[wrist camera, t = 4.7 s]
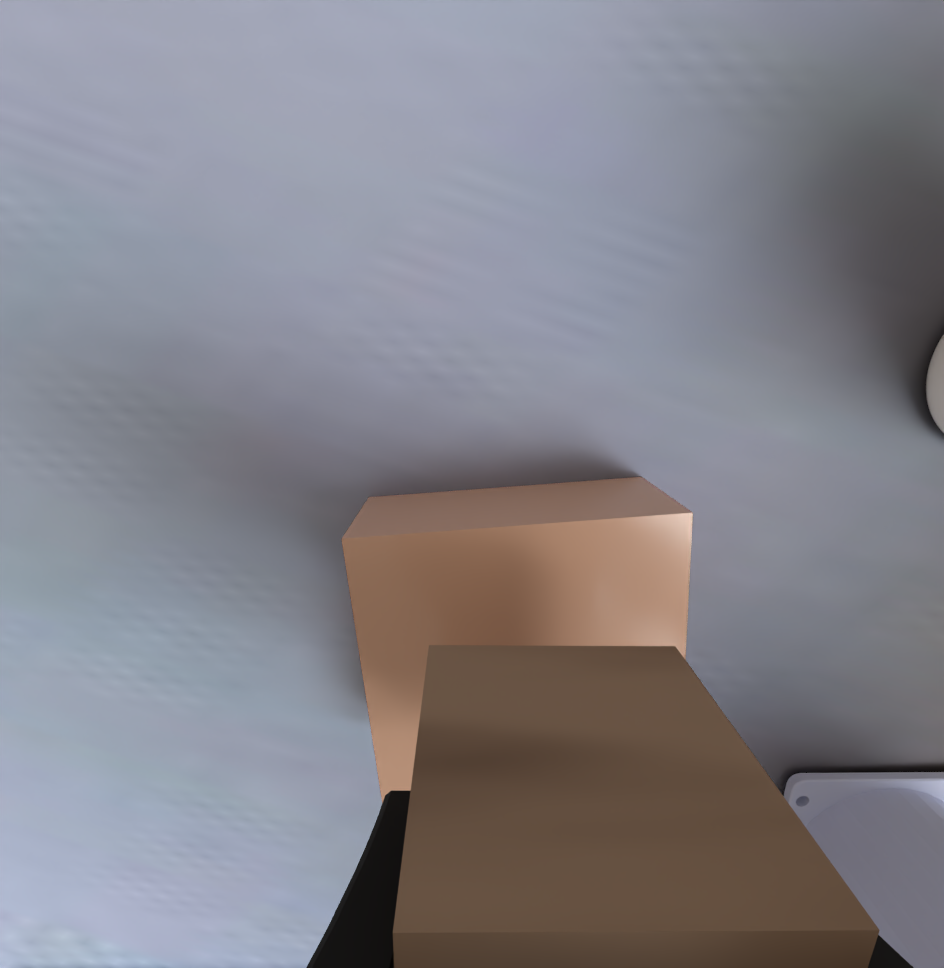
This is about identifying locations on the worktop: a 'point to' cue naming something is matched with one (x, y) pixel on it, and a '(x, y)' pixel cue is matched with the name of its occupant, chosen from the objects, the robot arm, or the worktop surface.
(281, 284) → the worktop surface
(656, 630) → the terracotta block
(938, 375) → the drinking glass
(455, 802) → the walnut cube
